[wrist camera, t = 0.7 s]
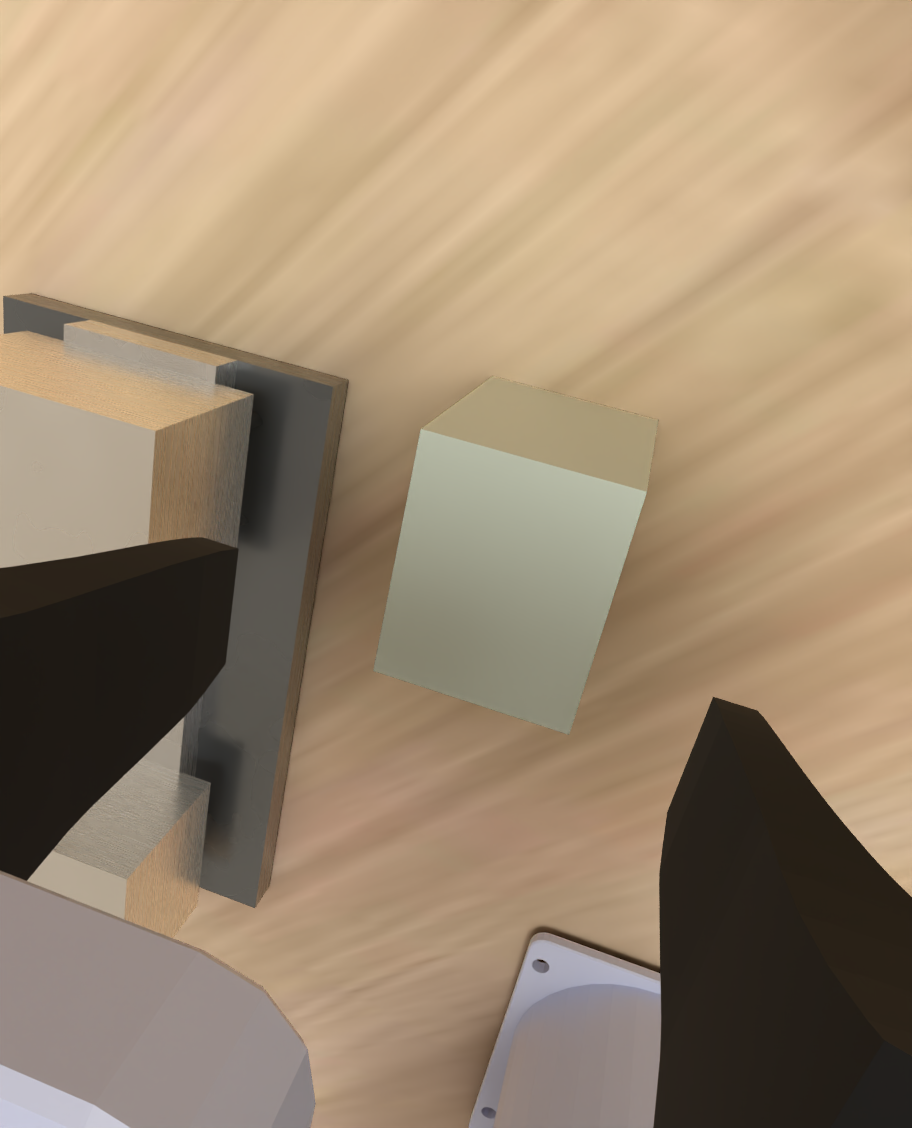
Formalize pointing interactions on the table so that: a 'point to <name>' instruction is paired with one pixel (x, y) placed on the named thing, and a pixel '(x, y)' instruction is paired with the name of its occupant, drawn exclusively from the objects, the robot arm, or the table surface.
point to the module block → (514, 548)
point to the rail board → (256, 594)
